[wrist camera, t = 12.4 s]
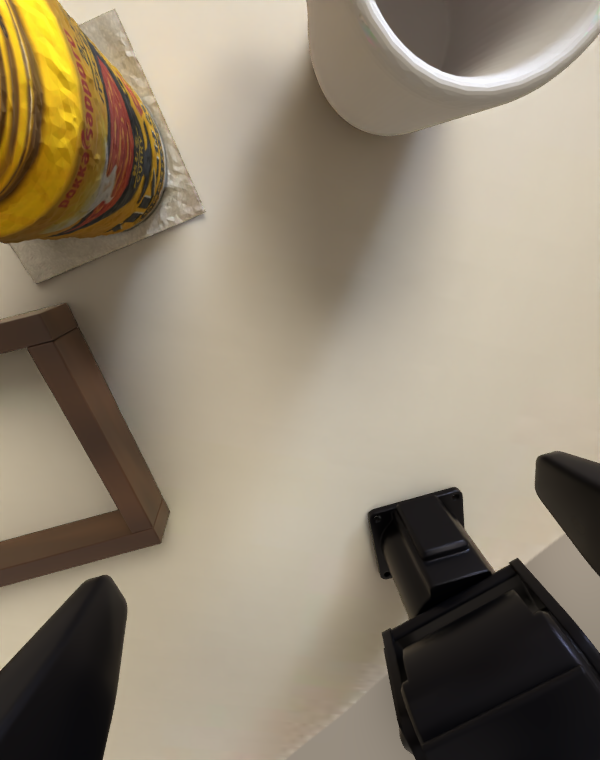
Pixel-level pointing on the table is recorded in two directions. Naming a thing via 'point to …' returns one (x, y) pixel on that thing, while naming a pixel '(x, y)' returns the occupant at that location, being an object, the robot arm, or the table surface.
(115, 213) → the condiment
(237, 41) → the table surface
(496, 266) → the table surface
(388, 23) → the cup
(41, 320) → the holder
